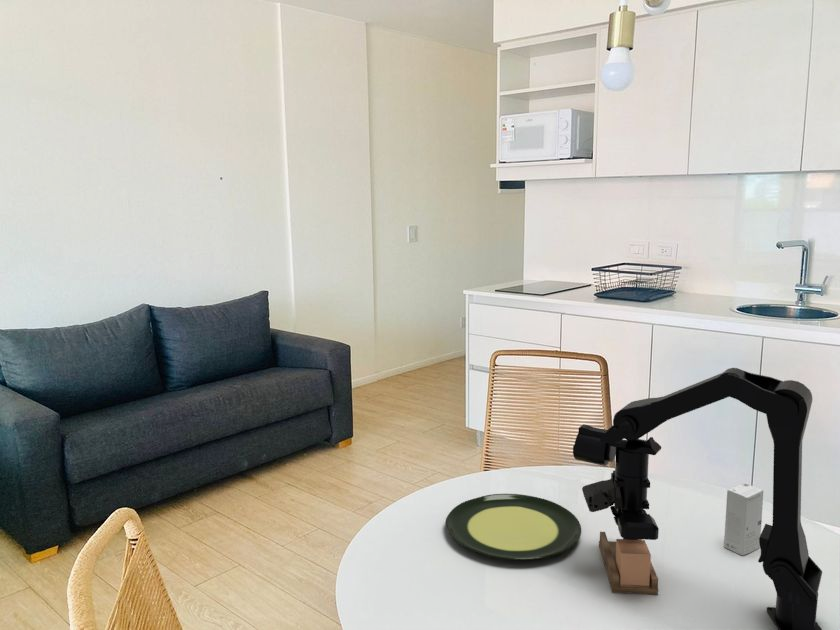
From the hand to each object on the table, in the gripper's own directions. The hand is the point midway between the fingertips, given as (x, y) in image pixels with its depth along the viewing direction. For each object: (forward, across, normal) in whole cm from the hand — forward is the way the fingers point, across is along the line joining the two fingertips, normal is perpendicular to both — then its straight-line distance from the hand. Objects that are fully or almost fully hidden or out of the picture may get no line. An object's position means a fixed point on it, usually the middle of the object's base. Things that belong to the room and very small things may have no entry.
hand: (628, 550), depth 123 cm
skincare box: (+4, -10, +24) cm, 26 cm away
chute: (+4, 0, 0) cm, 4 cm away
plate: (+4, -12, -21) cm, 25 cm away
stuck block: (+3, +4, 0) cm, 5 cm away
